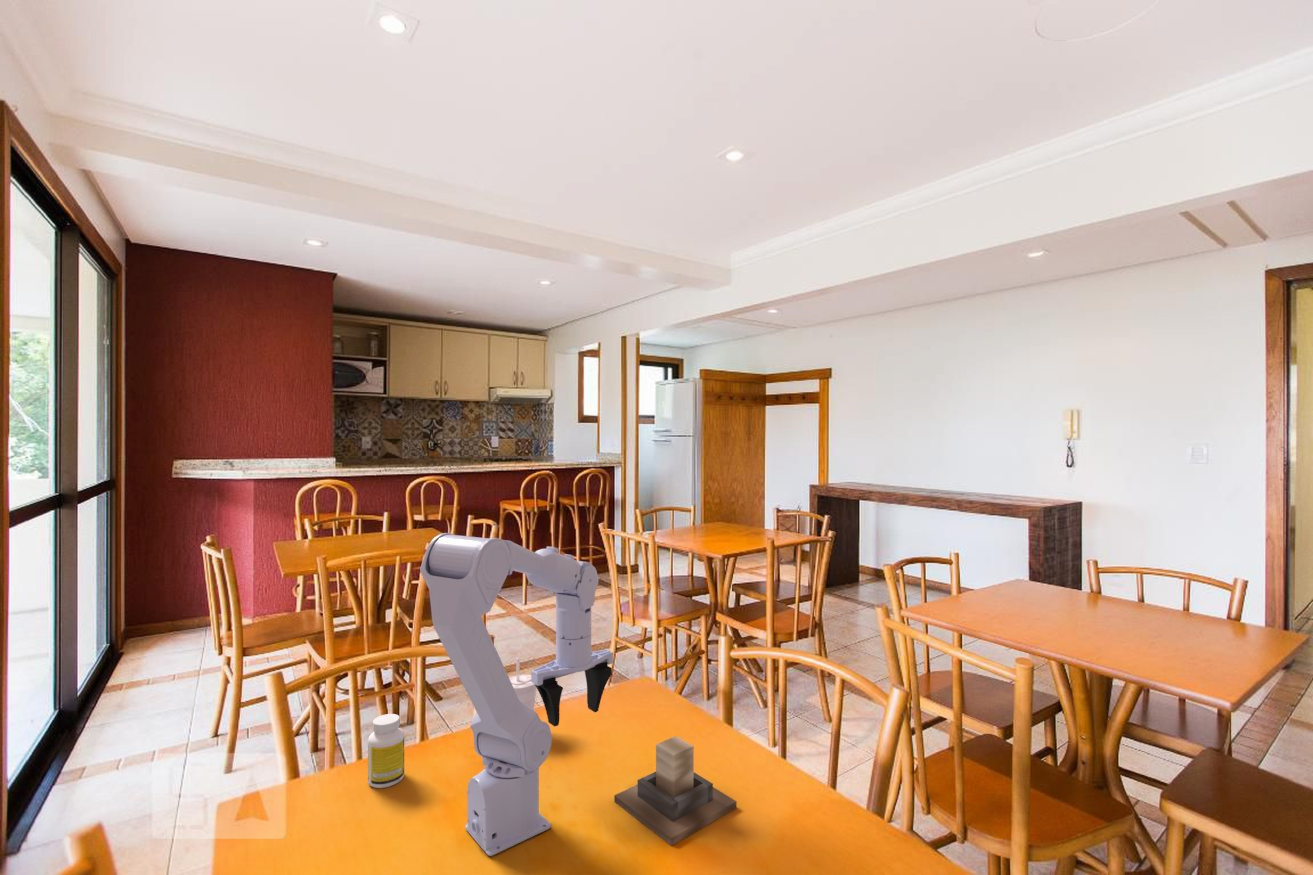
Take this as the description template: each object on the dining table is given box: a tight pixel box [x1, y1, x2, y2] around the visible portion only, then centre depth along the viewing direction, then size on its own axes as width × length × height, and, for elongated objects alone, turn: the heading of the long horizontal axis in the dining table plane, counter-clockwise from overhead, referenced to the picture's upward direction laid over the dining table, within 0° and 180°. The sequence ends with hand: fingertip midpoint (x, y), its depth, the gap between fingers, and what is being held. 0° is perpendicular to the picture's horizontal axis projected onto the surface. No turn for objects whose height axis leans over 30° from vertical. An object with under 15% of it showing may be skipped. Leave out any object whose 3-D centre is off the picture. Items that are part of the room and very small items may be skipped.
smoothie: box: [508, 657, 537, 711], centre depth 116 cm, size 6×6×14 cm
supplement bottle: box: [367, 713, 405, 789], centre depth 100 cm, size 5×5×10 cm
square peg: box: [655, 735, 695, 798], centre depth 94 cm, size 4×4×8 cm
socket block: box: [613, 771, 738, 846], centre depth 94 cm, size 13×13×4 cm
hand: (573, 716), depth 102 cm, fingers open, 7 cm apart
